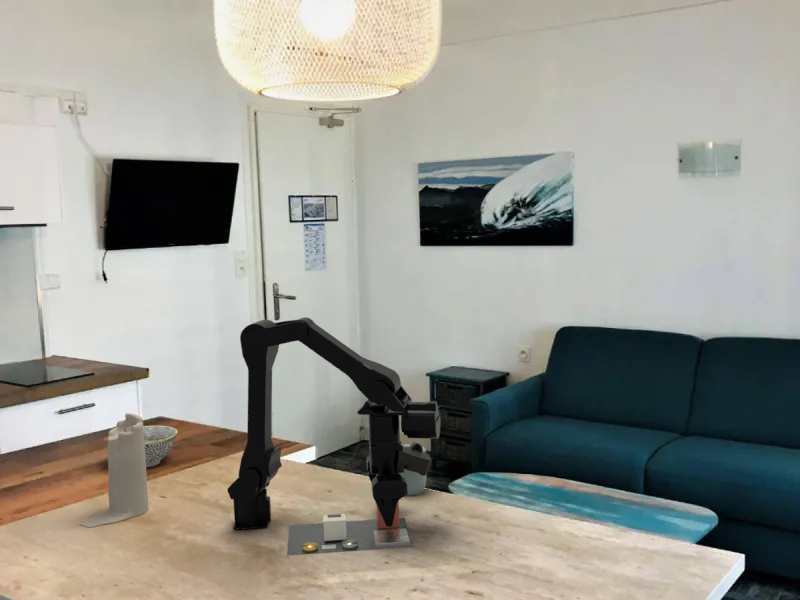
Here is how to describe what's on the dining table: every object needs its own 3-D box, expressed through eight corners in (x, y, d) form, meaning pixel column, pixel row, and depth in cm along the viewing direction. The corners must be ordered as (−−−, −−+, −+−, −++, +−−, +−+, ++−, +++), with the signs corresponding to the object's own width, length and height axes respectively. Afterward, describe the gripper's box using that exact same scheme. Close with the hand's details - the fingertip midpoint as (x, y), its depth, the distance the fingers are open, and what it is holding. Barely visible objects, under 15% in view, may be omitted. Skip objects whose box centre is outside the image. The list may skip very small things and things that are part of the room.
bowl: (193, 459, 206) (191, 429, 206) (142, 477, 193) (140, 446, 192) (149, 451, 215) (147, 422, 214) (97, 468, 202) (95, 437, 201)
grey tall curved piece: (74, 522, 166) (66, 424, 164) (137, 502, 176) (131, 410, 174) (91, 530, 161) (84, 429, 159) (155, 510, 171) (149, 415, 169)
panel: (287, 562, 144) (286, 551, 144) (289, 531, 158) (289, 521, 157) (413, 553, 146) (413, 542, 146) (404, 523, 160) (404, 514, 160)
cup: (423, 503, 171) (422, 455, 170) (386, 501, 172) (385, 454, 171) (429, 490, 178) (428, 444, 177) (394, 488, 180) (393, 443, 179)
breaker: (324, 541, 149) (323, 520, 148) (324, 534, 152) (323, 514, 151) (346, 539, 149) (345, 519, 149) (345, 533, 152) (345, 513, 152)
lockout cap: (377, 528, 155) (376, 495, 154) (376, 520, 159) (375, 488, 158) (399, 526, 155) (398, 494, 154) (397, 519, 159) (396, 487, 158)
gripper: (434, 448, 147) (436, 533, 148) (421, 422, 165) (423, 498, 167) (371, 452, 146) (374, 538, 147) (365, 425, 164) (367, 502, 166)
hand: (387, 517), depth 157 cm, fingers open, 8 cm apart
